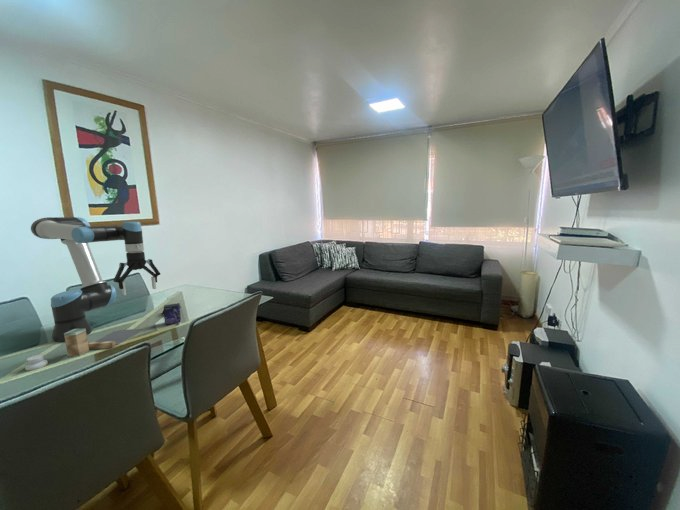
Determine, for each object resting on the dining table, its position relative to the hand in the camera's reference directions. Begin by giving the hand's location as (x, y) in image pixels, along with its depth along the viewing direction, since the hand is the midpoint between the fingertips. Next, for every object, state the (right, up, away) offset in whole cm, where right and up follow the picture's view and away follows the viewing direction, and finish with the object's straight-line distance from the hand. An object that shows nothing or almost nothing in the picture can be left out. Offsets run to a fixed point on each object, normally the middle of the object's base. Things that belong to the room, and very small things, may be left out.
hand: (140, 291), depth 141 cm
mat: (-11, -24, -1) cm, 26 cm away
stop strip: (-10, -25, -12) cm, 30 cm away
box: (+7, -21, +17) cm, 28 cm away
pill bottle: (-23, -35, -27) cm, 50 cm away
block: (-15, -26, -18) cm, 35 cm away
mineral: (+2, -19, +27) cm, 33 cm away
